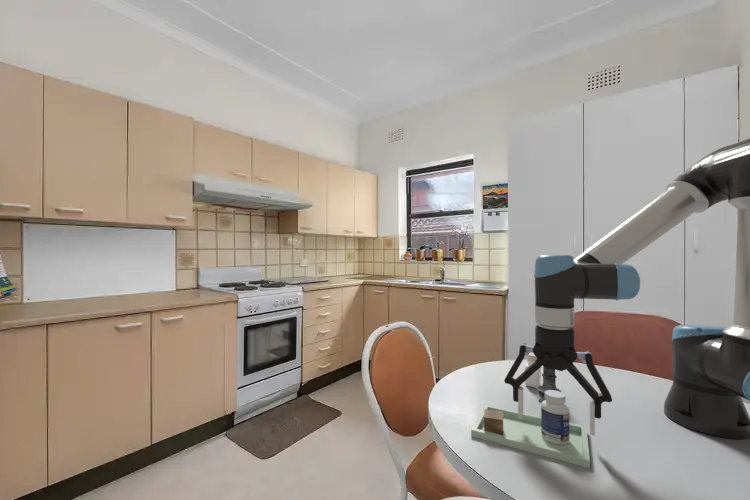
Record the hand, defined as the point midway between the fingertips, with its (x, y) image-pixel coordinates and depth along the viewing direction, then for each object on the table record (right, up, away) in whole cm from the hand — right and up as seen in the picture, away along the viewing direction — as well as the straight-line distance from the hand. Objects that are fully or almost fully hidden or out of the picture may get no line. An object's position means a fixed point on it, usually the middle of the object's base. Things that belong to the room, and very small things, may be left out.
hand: (554, 424), depth 73 cm
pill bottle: (0, -3, 0) cm, 3 cm away
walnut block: (-12, -3, +3) cm, 13 cm away
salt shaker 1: (+9, -4, +30) cm, 32 cm away
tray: (-5, -4, +2) cm, 6 cm away
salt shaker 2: (+8, -4, +18) cm, 20 cm away
